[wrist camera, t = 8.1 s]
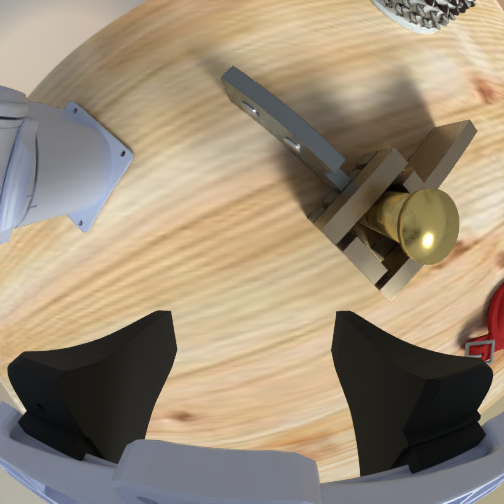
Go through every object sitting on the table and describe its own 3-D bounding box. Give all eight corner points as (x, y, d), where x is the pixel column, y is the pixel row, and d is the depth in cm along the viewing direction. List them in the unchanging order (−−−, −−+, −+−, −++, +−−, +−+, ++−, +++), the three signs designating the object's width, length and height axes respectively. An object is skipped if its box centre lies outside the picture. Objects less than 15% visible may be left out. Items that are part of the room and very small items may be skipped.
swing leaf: (365, 276, 20) (389, 301, 15) (307, 218, 19) (320, 230, 14) (459, 162, 17) (495, 162, 12) (412, 101, 16) (445, 86, 12)
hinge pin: (337, 208, 19) (388, 228, 11) (368, 173, 18) (434, 172, 10) (368, 240, 20) (428, 279, 11) (397, 207, 19) (468, 227, 10)
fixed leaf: (417, 215, 19) (453, 227, 14) (364, 275, 20) (389, 301, 15) (266, 67, 17) (266, 36, 12) (205, 129, 18) (186, 114, 13)
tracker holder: (513, 262, 18) (544, 305, 17) (490, 264, 23) (524, 303, 21) (466, 367, 18) (503, 395, 17) (446, 356, 23) (484, 384, 21)
